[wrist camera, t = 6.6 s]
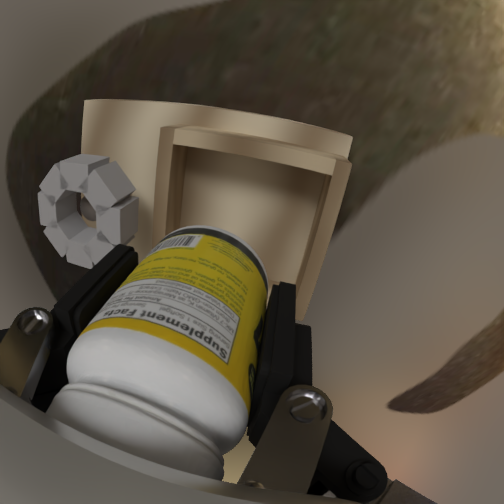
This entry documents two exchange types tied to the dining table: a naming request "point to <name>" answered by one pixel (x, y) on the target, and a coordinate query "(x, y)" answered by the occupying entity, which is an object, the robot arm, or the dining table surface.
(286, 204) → the wooden peg tray
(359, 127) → the dining table surface
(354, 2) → the dining table surface
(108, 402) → the supplement bottle
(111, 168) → the wheel
